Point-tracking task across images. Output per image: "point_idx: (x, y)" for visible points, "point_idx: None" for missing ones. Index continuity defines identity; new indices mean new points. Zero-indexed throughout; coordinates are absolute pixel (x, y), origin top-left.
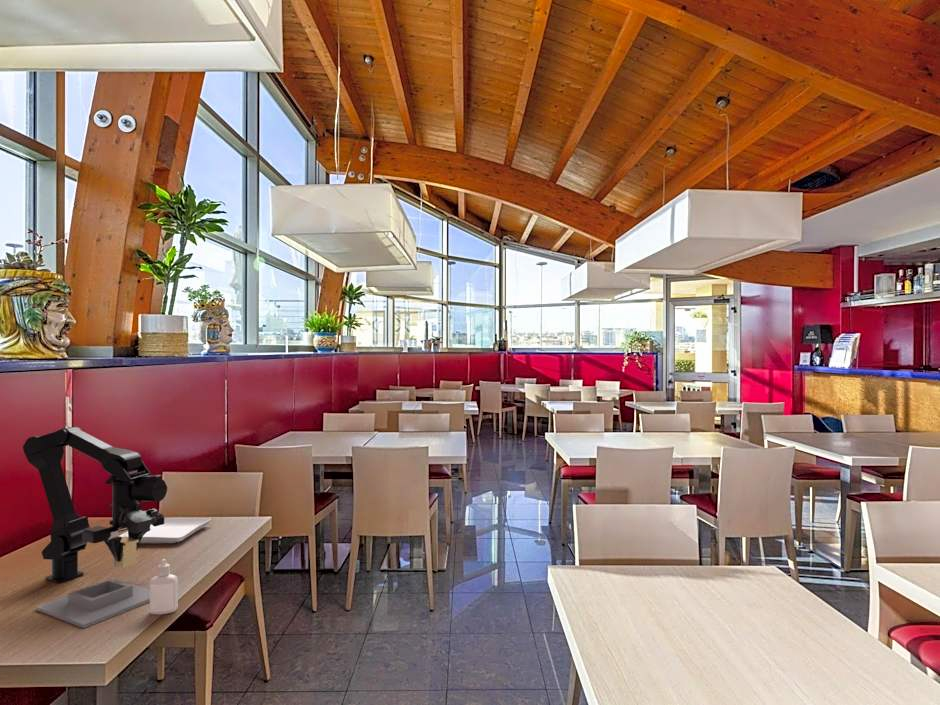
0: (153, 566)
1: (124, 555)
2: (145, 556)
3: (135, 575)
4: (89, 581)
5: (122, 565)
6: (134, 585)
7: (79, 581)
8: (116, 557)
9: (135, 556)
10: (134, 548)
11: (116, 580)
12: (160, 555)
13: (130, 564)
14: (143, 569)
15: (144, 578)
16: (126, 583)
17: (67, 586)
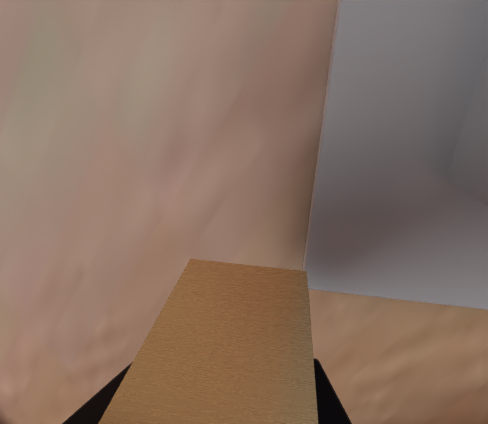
0: (75, 279)
1: (297, 370)
2: (53, 391)
3: (189, 260)
4: (337, 384)
5: (307, 296)
6: (339, 58)
7: (352, 416)
8: (338, 411)
9: (173, 309)
10: (141, 401)
11: (314, 264)
12: (5, 352)
13: (239, 273)
14: (123, 290)
15: (188, 173)
16: (329, 159)
17: (415, 418)
